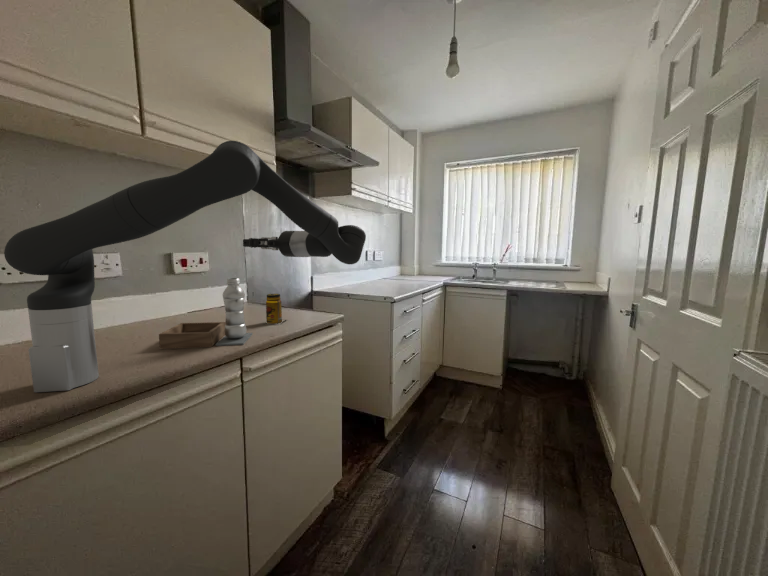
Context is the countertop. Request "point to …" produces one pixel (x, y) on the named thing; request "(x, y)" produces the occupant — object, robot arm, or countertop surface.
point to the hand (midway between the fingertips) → (254, 243)
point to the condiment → (273, 309)
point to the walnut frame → (192, 335)
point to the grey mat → (234, 340)
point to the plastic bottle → (234, 309)
